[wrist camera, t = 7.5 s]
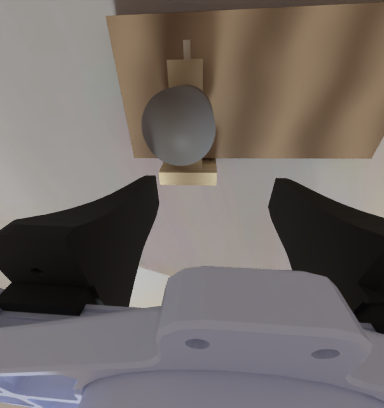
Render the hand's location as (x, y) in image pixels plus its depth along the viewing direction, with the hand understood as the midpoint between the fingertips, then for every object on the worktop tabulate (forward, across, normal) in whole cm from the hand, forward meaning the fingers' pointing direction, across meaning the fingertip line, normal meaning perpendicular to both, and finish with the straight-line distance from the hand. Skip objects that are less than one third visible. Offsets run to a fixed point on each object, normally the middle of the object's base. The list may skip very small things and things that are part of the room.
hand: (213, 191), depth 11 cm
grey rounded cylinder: (+9, +2, -2) cm, 9 cm away
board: (+9, -3, -4) cm, 11 cm away
